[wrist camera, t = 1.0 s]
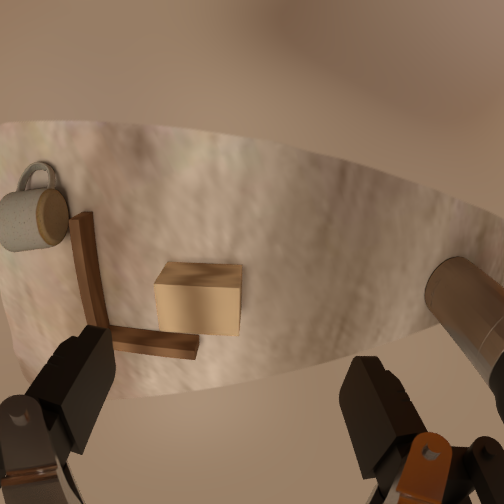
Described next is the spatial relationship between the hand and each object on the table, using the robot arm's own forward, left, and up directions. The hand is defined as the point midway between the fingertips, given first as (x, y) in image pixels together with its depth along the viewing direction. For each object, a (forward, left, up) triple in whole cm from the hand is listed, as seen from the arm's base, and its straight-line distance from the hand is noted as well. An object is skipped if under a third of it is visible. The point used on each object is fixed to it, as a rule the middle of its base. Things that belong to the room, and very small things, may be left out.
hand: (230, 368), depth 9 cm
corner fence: (+13, +11, -26) cm, 31 cm away
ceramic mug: (+27, +1, -27) cm, 38 cm away
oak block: (+5, +11, -27) cm, 29 cm away
